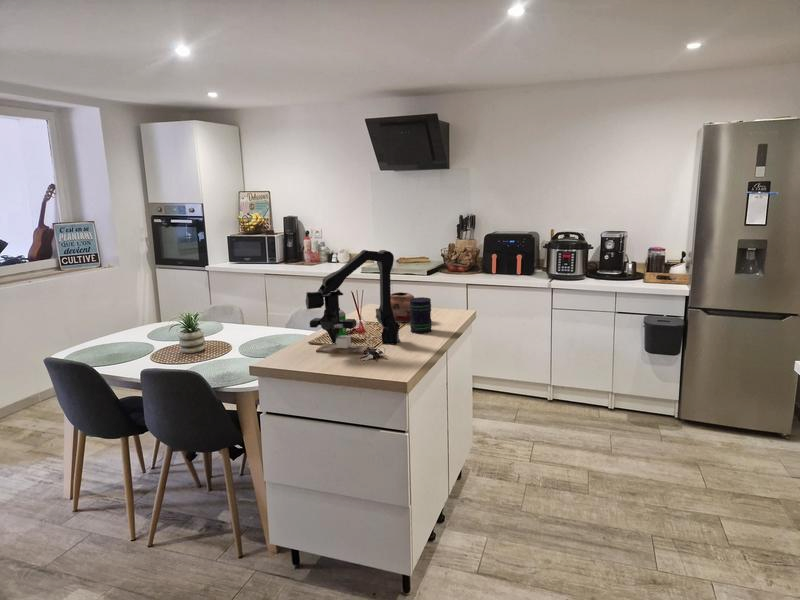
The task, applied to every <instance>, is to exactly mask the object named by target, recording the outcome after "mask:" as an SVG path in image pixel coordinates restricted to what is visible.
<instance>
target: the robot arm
mask: <svg viewBox="0 0 800 600" xmlns="http://www.w3.org/2000/svg"><path fill="white" fill-rule="evenodd" d="M367 261H373V262H376V264H377V269H378V270H379V298H380V299H379V301H380V302H379V303H380V304H379V308H375V319H376V321H377V322H378V323H379V324H380V325H381V326H382V332H381V344H382V345H398V343H399V342H400V341H401V339H400V337H399V335H400V334H399V330H400V327H401V325H400V323H399V322H396V321H394V314H393V310H392V308H391V294H392V293H391V292H392V290H391V272H392V269H393V266H394V261H395V257H394V254H393V253H392V252H391V251H390V250H389V251H388V250H386V249H380V250H379V251H374V250H367V249H363V250H361V251H360V252H359V253H357V255H356V256H354V257H353V258H352V259H351V260H349V261H347V263H346V264H344V265H342V267H340V268H339V269H338V270H336V271H333V272H331V273H329V274H328V275H326V276H324V278H322V284H321V286H320V287H319V288H318V290H317V291H312V292H311V291H306V293H305V294H306V295H305V306H306V309H307V310H313V309H322V307H324V311H323V315H322V317H315V318H313V319H311V320H310V321H309V328H312V329H313V328H314V329H317V328H318V327H319V326H320V328H321V329H322V330H324V331H326V332H327V334H328V336H329V338H330V340H331V344H335V345H336V344H337V343H336V338H337V337H338V334H339V332H340V330H341V329H342V328H343V327H344V328H345V329H346V330H347V329H350V330H351V329H354V328H355V327H356V326H357V320H356V319H355V318H346V320H345V321H340V320H341V317H340V315H339V310H341V307H340V300H339V297H340V296H343V295H344V292H342V291H341V290H340V289H339V288H340V287H341V285H342V284H343V282H345V280H346V278H348V277H349V276H350V275H351V274H352V273H354V272H355V271H356V270H357V269H359V268H360V267H361V266H363V265H364V264H365V263H366V262H367ZM334 326H335V328H334Z"/></svg>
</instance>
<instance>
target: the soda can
mask: <svg viewBox="0 0 800 600" xmlns="http://www.w3.org/2000/svg"><path fill="white" fill-rule="evenodd" d="M339 315H340V317H341V320H340V321H345V320H346V319H347V318H346V313H345V311H344V310H341V309H340V310H339ZM334 328H335V326H334ZM339 336H347V329H345V328H344V327H343V328H342V329H341V330H340V332H339V334H338V337H339ZM338 337H337V338H338Z"/></svg>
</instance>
